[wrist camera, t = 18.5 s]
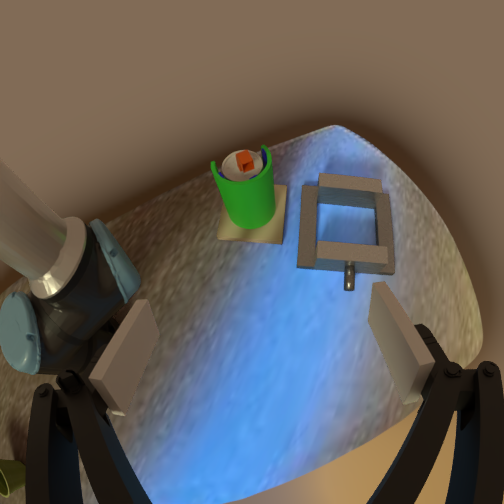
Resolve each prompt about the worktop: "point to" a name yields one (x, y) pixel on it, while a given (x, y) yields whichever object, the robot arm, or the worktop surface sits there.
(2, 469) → the plant pot
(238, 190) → the green-shelled ribbed roller
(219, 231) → the board
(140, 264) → the worktop surface
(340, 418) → the worktop surface
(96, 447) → the robot arm
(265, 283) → the worktop surface
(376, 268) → the vise
